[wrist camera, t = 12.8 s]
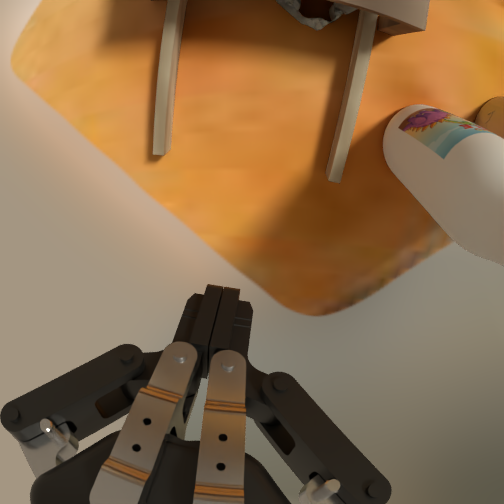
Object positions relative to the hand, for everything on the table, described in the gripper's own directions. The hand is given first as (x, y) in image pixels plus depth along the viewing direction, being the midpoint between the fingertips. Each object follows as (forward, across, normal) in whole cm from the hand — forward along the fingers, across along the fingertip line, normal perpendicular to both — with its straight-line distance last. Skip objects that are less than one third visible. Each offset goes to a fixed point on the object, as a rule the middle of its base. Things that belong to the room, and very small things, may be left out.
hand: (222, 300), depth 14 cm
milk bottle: (+16, -14, -6) cm, 23 cm away
